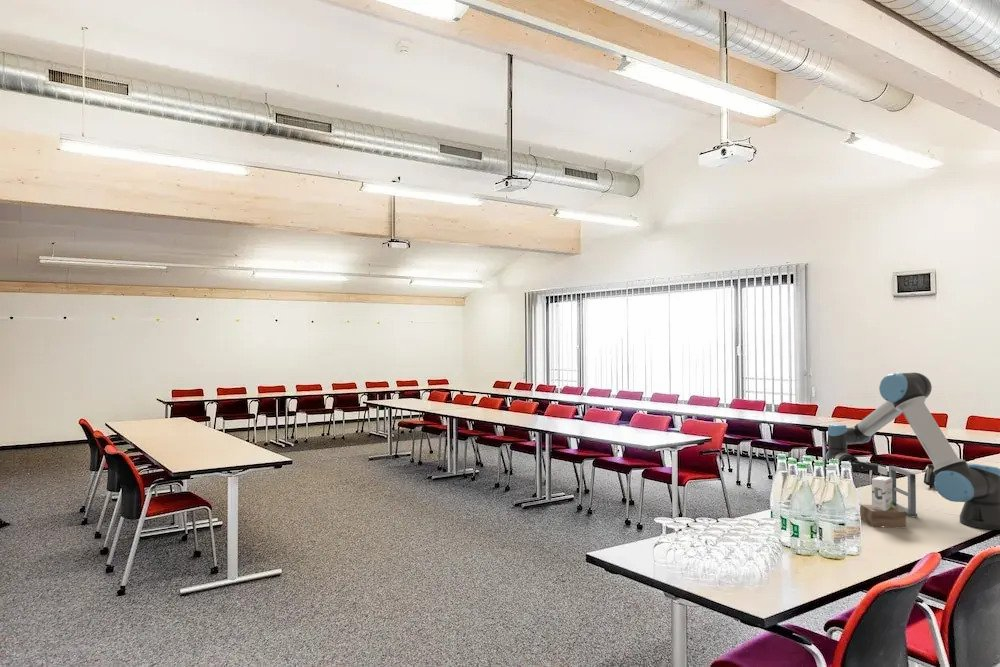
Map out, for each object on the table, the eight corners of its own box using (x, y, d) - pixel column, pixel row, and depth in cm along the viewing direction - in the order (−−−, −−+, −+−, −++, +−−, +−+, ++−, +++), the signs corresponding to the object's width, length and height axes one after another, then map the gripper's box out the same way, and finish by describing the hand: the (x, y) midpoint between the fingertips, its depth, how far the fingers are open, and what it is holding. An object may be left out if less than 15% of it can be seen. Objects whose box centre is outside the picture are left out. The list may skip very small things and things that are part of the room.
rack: (917, 516, 258) (916, 474, 258) (909, 516, 258) (908, 474, 258) (895, 505, 275) (894, 465, 276) (888, 505, 276) (887, 465, 276)
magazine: (952, 462, 327) (926, 450, 311) (959, 463, 325) (934, 451, 309) (948, 495, 324) (922, 485, 308) (955, 496, 322) (930, 486, 306)
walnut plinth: (905, 527, 242) (905, 512, 242) (872, 526, 244) (872, 511, 244) (892, 520, 252) (892, 505, 252) (860, 519, 254) (860, 504, 254)
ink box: (879, 505, 253) (878, 475, 253) (893, 507, 249) (892, 477, 249) (871, 508, 247) (871, 478, 247) (885, 511, 243) (885, 480, 244)
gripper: (877, 471, 279) (901, 481, 258) (817, 470, 282) (836, 480, 261) (876, 454, 279) (901, 462, 258) (816, 453, 282) (836, 461, 261)
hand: (868, 471), depth 259 cm, fingers open, 13 cm apart
